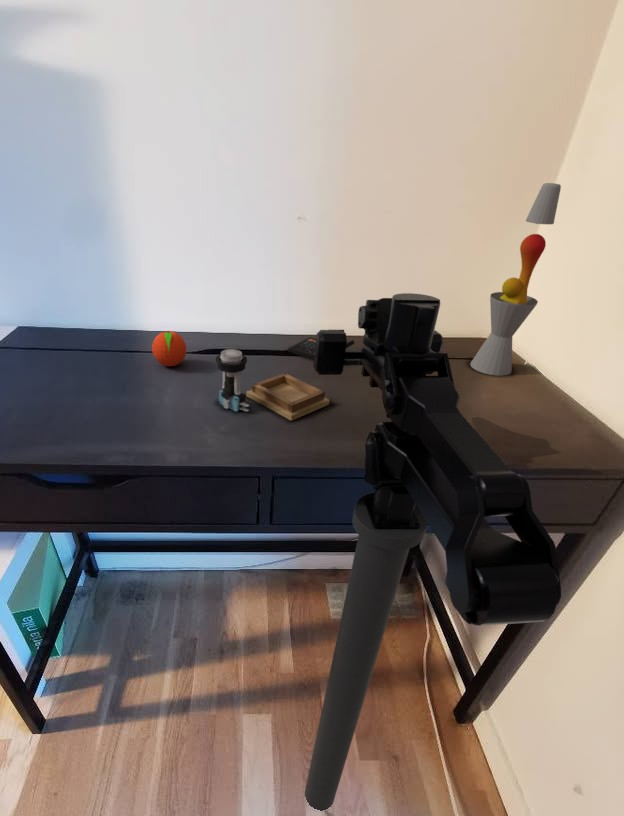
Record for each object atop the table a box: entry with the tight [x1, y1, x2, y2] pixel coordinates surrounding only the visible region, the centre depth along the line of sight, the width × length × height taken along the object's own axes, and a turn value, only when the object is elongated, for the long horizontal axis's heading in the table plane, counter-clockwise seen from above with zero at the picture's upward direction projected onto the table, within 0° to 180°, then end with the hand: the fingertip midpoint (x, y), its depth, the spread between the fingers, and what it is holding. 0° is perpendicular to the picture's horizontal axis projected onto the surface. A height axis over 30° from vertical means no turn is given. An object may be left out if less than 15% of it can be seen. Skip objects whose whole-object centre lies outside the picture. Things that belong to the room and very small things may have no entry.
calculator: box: [287, 337, 355, 361], centre depth 110 cm, size 9×12×3 cm
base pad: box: [245, 372, 331, 421], centre depth 90 cm, size 12×10×2 cm
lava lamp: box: [469, 182, 562, 377], centre depth 98 cm, size 9×9×35 cm
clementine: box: [151, 330, 187, 367], centre depth 100 cm, size 8×7×7 cm
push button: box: [215, 348, 250, 412], centre depth 85 cm, size 7×5×10 cm
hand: (362, 335), depth 80 cm, fingers open, 9 cm apart
